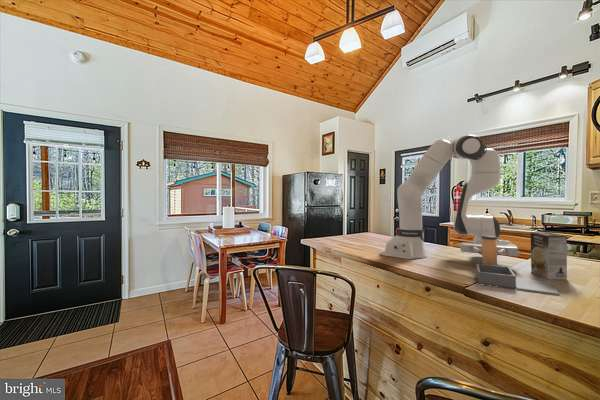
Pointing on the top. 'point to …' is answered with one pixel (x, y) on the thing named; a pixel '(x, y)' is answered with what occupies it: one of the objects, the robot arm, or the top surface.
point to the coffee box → (549, 255)
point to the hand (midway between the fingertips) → (489, 252)
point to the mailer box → (510, 280)
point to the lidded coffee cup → (489, 250)
